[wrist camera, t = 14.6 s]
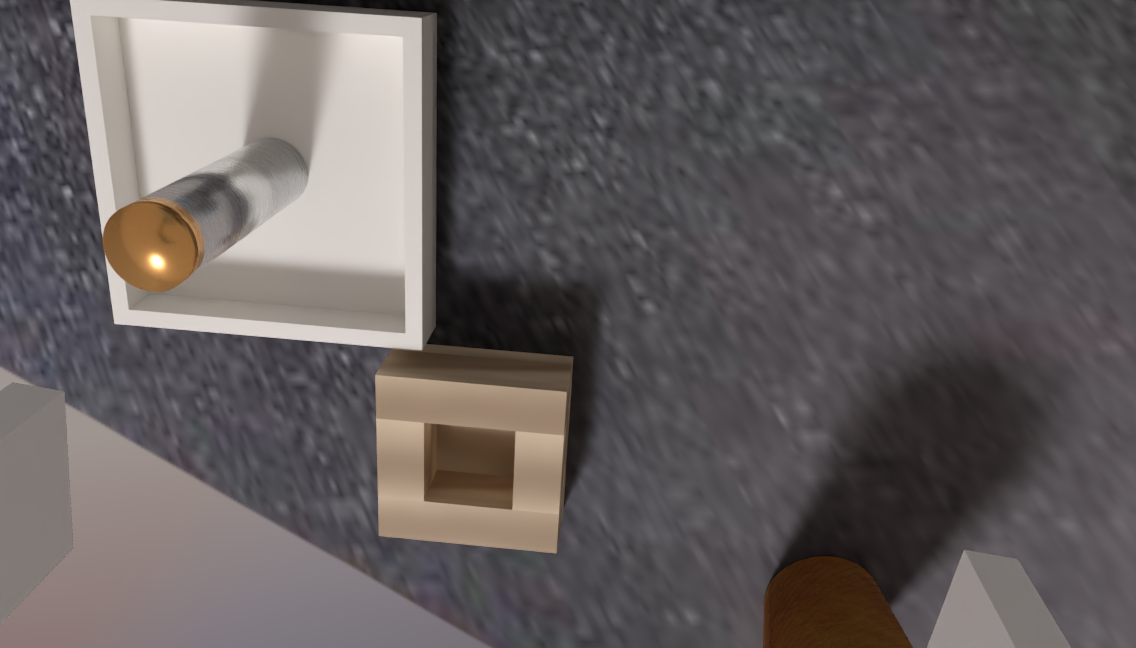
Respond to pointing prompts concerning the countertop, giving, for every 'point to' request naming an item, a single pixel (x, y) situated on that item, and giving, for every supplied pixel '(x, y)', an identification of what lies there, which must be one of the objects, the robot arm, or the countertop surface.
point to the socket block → (473, 446)
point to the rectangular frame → (296, 115)
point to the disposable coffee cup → (828, 608)
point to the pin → (202, 214)
